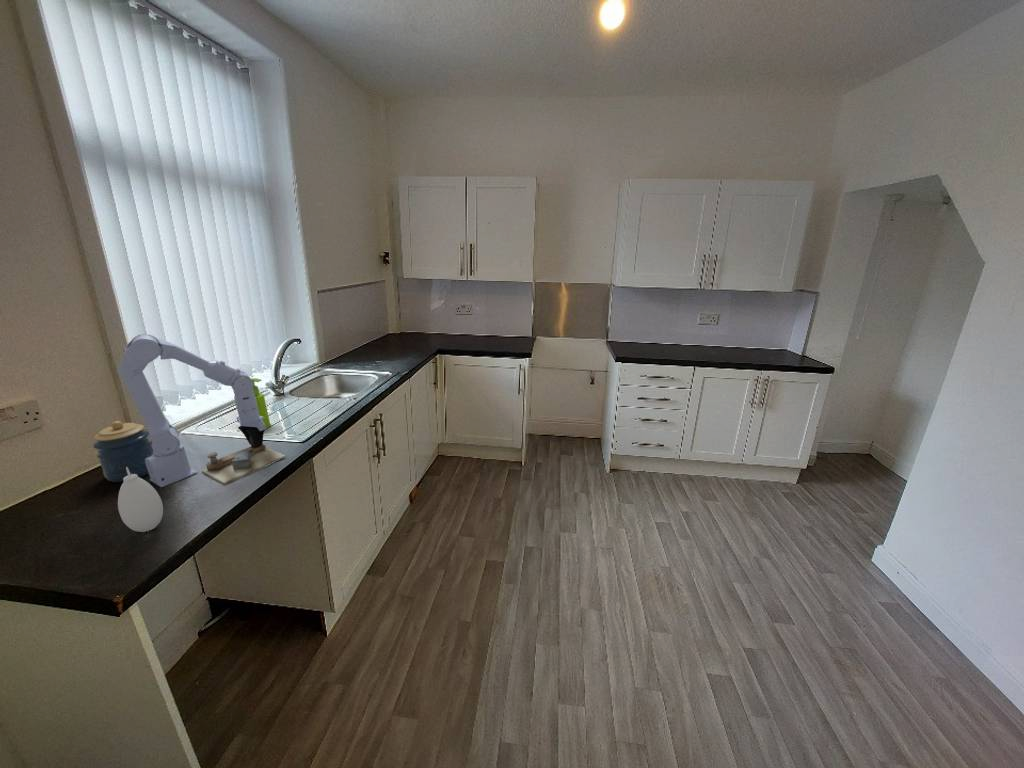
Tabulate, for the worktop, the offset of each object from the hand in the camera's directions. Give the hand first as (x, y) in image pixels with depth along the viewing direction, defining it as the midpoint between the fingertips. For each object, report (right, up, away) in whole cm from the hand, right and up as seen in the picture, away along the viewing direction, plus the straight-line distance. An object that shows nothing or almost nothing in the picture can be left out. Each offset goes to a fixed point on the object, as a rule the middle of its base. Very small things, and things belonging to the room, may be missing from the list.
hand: (256, 444), depth 139 cm
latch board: (0, -6, -6) cm, 9 cm away
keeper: (+1, -6, -7) cm, 9 cm away
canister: (-33, -7, -10) cm, 35 cm away
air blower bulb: (-4, -16, -36) cm, 40 cm away
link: (-3, -4, -5) cm, 7 cm away
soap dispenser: (-11, +4, +22) cm, 25 cm away
